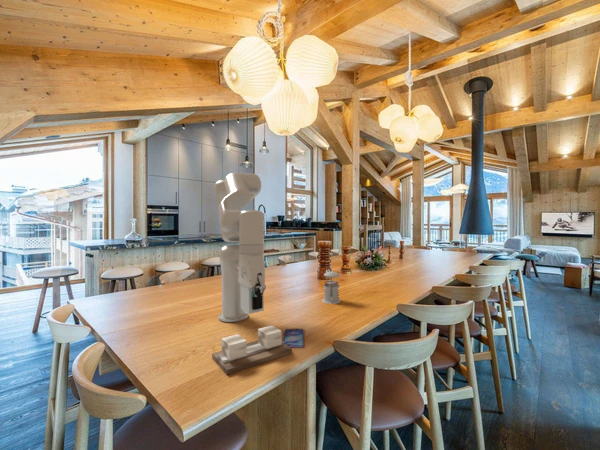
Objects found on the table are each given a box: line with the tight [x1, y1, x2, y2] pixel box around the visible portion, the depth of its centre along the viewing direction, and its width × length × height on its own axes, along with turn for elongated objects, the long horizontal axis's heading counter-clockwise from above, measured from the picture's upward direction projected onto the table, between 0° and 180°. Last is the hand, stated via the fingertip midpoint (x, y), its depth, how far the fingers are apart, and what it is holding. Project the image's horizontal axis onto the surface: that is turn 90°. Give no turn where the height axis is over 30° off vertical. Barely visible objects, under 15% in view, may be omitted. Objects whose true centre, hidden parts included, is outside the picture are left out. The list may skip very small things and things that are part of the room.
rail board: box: [211, 324, 293, 376], centre depth 94 cm, size 12×22×7 cm, turn 126°
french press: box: [321, 252, 341, 305], centre depth 151 cm, size 10×12×25 cm
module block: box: [240, 284, 265, 315], centre depth 93 cm, size 6×5×8 cm
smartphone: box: [282, 328, 305, 349], centre depth 107 cm, size 7×1×15 cm
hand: (252, 305), depth 93 cm, fingers closed on module block, 6 cm apart
